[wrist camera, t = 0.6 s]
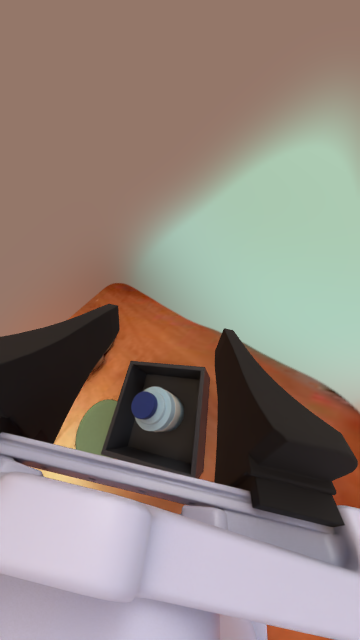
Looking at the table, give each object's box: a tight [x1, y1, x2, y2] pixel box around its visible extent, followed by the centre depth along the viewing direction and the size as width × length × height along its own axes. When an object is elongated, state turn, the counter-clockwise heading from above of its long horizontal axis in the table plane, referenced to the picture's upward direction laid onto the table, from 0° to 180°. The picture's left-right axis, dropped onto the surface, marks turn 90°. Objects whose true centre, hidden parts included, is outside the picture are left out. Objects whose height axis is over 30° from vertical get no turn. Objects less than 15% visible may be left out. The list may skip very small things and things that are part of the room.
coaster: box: [75, 400, 117, 459], centre depth 25 cm, size 9×9×1 cm
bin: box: [101, 361, 210, 479], centre depth 22 cm, size 11×11×5 cm
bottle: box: [131, 387, 184, 432], centre depth 21 cm, size 5×5×9 cm
